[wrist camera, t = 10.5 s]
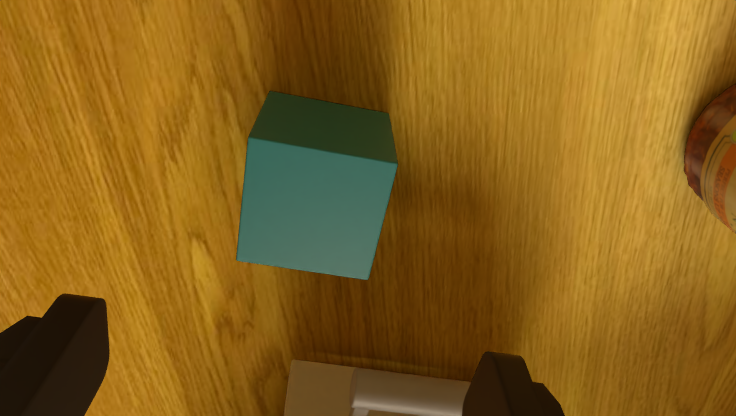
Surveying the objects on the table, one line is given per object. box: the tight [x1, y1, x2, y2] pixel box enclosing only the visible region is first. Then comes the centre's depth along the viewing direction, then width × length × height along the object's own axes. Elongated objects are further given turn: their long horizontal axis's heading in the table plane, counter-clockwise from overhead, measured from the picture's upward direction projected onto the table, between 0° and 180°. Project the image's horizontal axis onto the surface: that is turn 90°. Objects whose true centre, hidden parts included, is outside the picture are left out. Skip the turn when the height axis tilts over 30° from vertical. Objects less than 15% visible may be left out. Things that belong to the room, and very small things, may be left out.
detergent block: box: [236, 91, 398, 280], centre depth 19 cm, size 5×5×5 cm
